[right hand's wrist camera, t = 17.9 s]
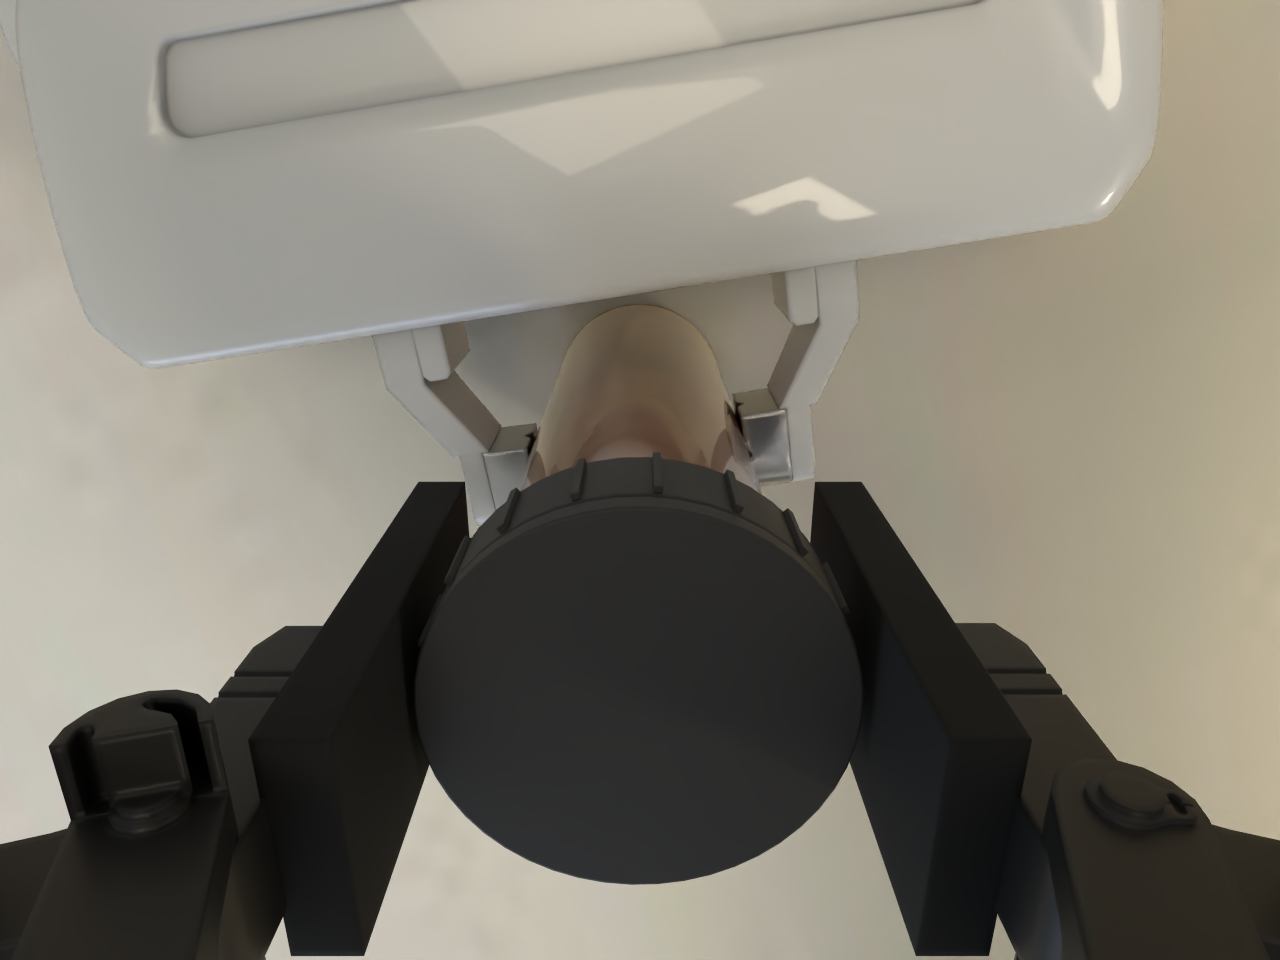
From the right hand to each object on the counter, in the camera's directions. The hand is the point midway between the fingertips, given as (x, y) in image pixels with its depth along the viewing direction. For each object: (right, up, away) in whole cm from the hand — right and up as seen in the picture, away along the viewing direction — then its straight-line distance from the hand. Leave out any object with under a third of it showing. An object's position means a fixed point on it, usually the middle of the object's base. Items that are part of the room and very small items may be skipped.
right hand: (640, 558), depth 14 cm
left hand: (0, +1, +5) cm, 5 cm away
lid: (0, -1, -4) cm, 4 cm away
